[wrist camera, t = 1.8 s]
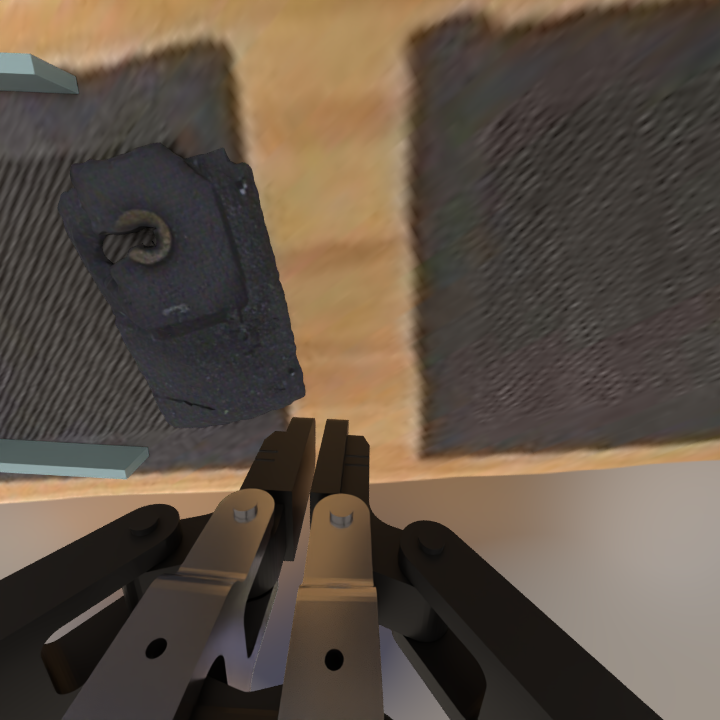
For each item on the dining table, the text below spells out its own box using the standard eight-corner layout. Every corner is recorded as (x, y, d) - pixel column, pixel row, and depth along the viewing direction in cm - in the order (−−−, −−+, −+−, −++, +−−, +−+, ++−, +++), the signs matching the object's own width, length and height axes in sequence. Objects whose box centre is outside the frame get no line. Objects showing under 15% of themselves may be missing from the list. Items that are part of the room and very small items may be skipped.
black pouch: (163, 426, 35) (133, 455, 30) (55, 179, 27) (-6, 170, 23) (316, 401, 34) (307, 429, 29) (246, 134, 26) (220, 115, 22)
